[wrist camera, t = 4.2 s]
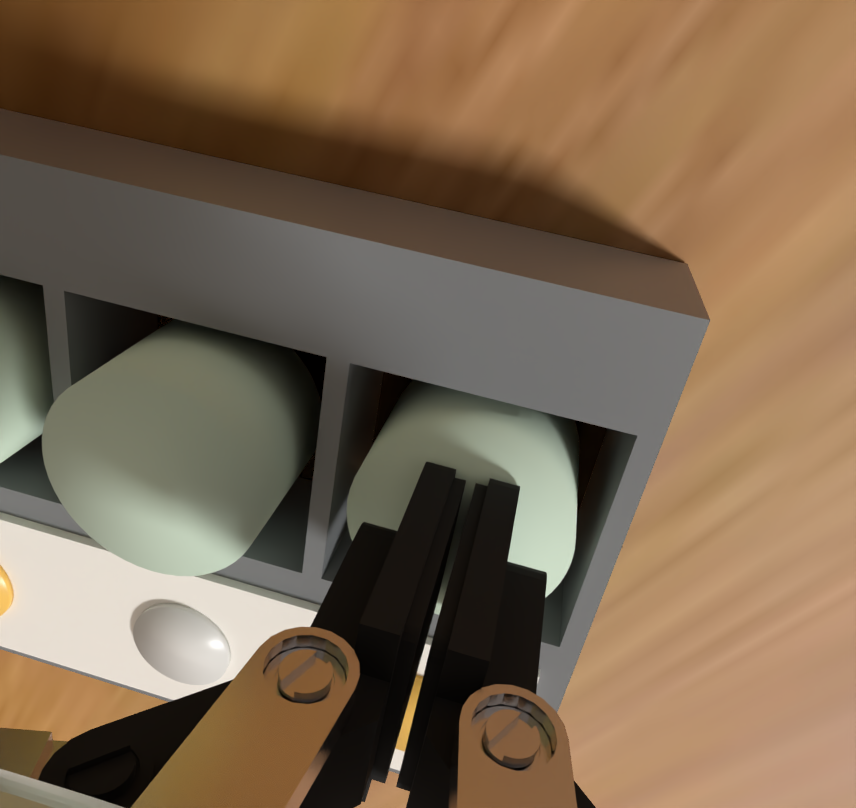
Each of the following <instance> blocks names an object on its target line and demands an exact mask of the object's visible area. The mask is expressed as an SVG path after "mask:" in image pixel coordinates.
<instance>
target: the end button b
mask: <svg viewBox="0 0 856 808" xmlns="http://www.w3.org/2000/svg"><path fill="white" fill-rule="evenodd" d="M579 453H580V444H579V435H578V430H577V426H576V423H575V420H573V419H569V418H565V417H561V416H557V415H553V414H549V413H545V412H541V411H537V410H534V409H530V408H526V407H522V406H518V405H514V404H510V403H506V402H502V401H498V400H494V399H490V398H486V397H482V396H478V395H474V394H470V393H466V392H462V391H458V390H454V389H451V388H447V387H443V386H439V385H435V384H431V383H427V382H423V381H419V380H415V379H414V380H413V381H412V382H411V383H410V384H409V385H408V386H407V387H406V389H405V390H404V391H403V392H402V394H401V396H400V397H399V399H398V400H397V402H396V404H395V406H394V408H393V409H392V411H391V413H390V415H389V417H388V418H387V420H386V422H385V424H384V426H383V427H382V429H381V431H380V433H379V435H378V436H377V438H376V440H375V442H374V444H373V445H372V447H371V449H370V451H369V453H368V454H367V456H366V458H365V460H364V461H363V463H362V465H361V467H360V469H359V470H358V472H357V474H356V476H355V478H354V480H353V483H352V485H351V488H350V491H349V495H348V500H347V524H348V528H349V533H350V537H351V539H352V541H353V539H354V537H355V535H356V533H357V531H358V529H359V527H360V526H361V524H362V523H363V522H367V523H370V524H374V525H378V526H381V527H385V528H389V529H392V530H396V531H398V528H399V526H400V523H401V521H402V518H403V516H404V514H405V511H406V509H407V506H408V504H409V501H410V499H411V497H412V494H413V492H414V489H415V487H416V484H417V482H418V480H419V477H420V475H421V472H422V470H423V467H424V465H425V463H426V462H431V463H435V464H438V465H442V466H446V467H450V468H454V469H456V474H455V478H459V479H463V480H466V484H465V488H464V492H463V496H462V501H461V505H460V509H459V513H458V517H457V521H456V525H455V530H454V534H453V538H452V542H451V546H450V550H449V555H448V559H447V563H446V567H445V571H444V575H443V579H442V584H441V588H440V592H439V596H438V600H437V604H436V608H435V611H434V613H435V614H438V615H439V614H440V611H441V607H442V603H443V600H444V596H445V592H446V589H447V585H448V582H449V578H450V574H451V571H452V567H453V564H454V560H455V556H456V553H457V549H458V546H459V542H460V538H461V535H462V531H463V527H464V524H465V520H466V517H467V513H468V509H469V506H470V502H471V499H472V495H473V491H474V488H475V484H476V483H478V484H481V485H485V486H488V484H489V480H490V478H491V479H495V480H499V481H503V482H506V483H510V484H514V485H518V486H520V492H519V498H518V503H517V509H516V515H515V521H514V526H513V532H512V538H511V544H510V550H509V555H508V562H511V563H515V564H519V565H522V566H526V567H529V568H533V569H537V570H540V571H544V572H546V573H547V584H546V595H545V598H546V597H547V596H548V595H549V594H550V593H552V592H553V590H554V589H555V588H556V587H557V586H558V585H559V584H560V582H561V581H562V579H563V578H564V576H565V575H566V573H567V571H568V569H569V567H570V564H571V562H572V559H573V555H574V551H575V541H576V523H577V500H578V476H579Z"/></svg>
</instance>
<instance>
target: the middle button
mask: <svg viewBox="0 0 856 808" xmlns="http://www.w3.org/2000/svg"><path fill="white" fill-rule="evenodd" d="M320 412H321V401H320V397H319V393H318V390H317V388H316V385H315V382H314V380H313V378H312V376H311V374H310V372H309V370H308V369H307V367H306V366H305V364H304V363H303V361H302V360H301V358H300V357H299V356H298V355H297V354H296V353H295V351H294V350H293V349H292V348H288V347H284V346H281V345H277V344H273V343H269V342H265V341H261V340H257V339H253V338H249V337H245V336H241V335H237V334H233V333H229V332H225V331H221V330H217V329H213V328H209V327H205V326H201V325H197V324H194V323H190V322H186V321H182V320H178V319H173V320H172V321H170V322H168V323H167V324H165V325H164V326H162V327H161V328H159V329H158V330H156V331H155V332H153V333H152V334H150V335H148V336H147V337H145V338H144V339H142V340H141V341H139V342H138V343H136V344H135V345H133V346H132V347H130V348H129V349H127V350H126V351H124V352H122V353H121V354H119V355H118V356H116V357H115V358H113V359H112V360H110V361H109V362H107V363H106V364H104V365H103V366H101V367H100V368H98V369H97V370H95V371H93V372H92V373H90V374H89V375H87V376H86V377H84V378H83V379H81V380H80V381H78V382H77V383H75V384H74V385H72V386H71V387H69V388H67V389H66V390H65V391H64V392H63V393H62V394H61V395H60V396H59V397H58V398H57V399H56V401H55V402H54V403H53V405H52V406H51V408H50V410H49V412H48V414H47V416H46V420H45V423H44V427H43V434H42V453H43V459H44V465H45V468H46V471H47V475H48V478H49V480H50V482H51V485H52V487H53V489H54V491H55V493H56V495H57V497H58V498H59V500H60V502H61V503H62V505H63V506H64V508H65V509H66V510H67V512H68V513H69V515H70V516H71V517H72V518H73V519H74V521H75V522H76V523H77V524H78V525H79V526H80V527H81V528H82V529H83V530H84V531H85V532H86V533H87V534H88V535H89V536H90V537H91V538H93V539H94V540H95V541H96V542H97V543H99V544H100V545H101V546H103V547H104V548H106V549H107V550H108V551H110V552H111V553H113V554H115V555H116V556H118V557H120V558H122V559H123V560H125V561H127V562H130V563H132V564H134V565H136V566H138V567H141V568H144V569H147V570H150V571H153V572H158V573H162V574H167V575H174V576H198V575H205V574H209V573H213V572H216V571H219V570H221V569H224V568H226V567H228V566H229V565H231V564H233V563H234V562H236V561H237V560H238V559H239V558H240V557H241V556H242V555H244V553H245V552H246V551H247V550H248V548H249V547H250V546H251V544H252V543H253V541H254V540H255V539H256V537H257V536H258V534H259V533H260V531H261V530H262V528H263V527H264V525H265V524H266V523H267V521H268V520H269V518H270V517H271V515H272V514H273V512H274V511H275V510H276V508H277V507H278V505H279V504H280V502H281V501H282V499H283V498H284V496H285V495H286V494H287V492H288V491H289V489H290V488H291V486H292V485H293V483H294V482H295V480H296V479H297V478H298V476H299V475H300V473H301V472H302V470H303V469H304V467H305V466H306V464H307V463H308V462H309V460H310V459H311V457H312V455H313V454H314V452H315V450H316V447H317V438H318V430H319V421H320Z"/></svg>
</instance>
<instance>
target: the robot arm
mask: <svg viewBox="0 0 856 808" xmlns="http://www.w3.org/2000/svg"><path fill="white" fill-rule="evenodd" d="M455 474H456V469H454V468H450V467H446V466H442V465H438V464H435V463H431V462H426V463H425V465H424V467H423V470H422V472H421V475H420V477H419V480H418V482H417V484H416V487H415V489H414V492H413V494H412V497H411V499H410V501H409V504H408V506H407V509H406V511H405V514H404V516H403V518H402V521H401V523H400V526H399V528H398V531H396V530H392V529H389V528H385V527H381V526H378V525H374V524H370V523H367V522H363V523H362V524H361V526H360V527H359V529H358V531H357V533H356V535H355V537H354V539H353V541H352V543H351V545H350V547H349V549H348V551H347V553H346V556H345V558H344V560H343V562H342V564H341V566H340V568H339V570H338V572H337V574H336V576H335V578H334V580H333V582H332V584H331V586H330V588H329V590H328V592H327V594H326V596H325V598H324V600H323V602H322V604H321V606H320V608H319V610H318V612H317V614H316V616H315V618H314V620H313V622H312V624H311V626H310V627H296V628H291V629H286V630H283V631H281V632H279V633H277V634H275V635H273V636H271V637H270V638H269V639H267V640H266V641H265V642H264V643H263V644H262V645H261V646H260V647H259V648H258V649H257V651H256V652H255V653H254V654H253V656H252V657H251V658H250V659H249V660H248V662H247V663H246V664H245V665H244V667H243V668H242V669H241V670H240V672H239V673H238V674H237V675H236V677H235V678H234V679H233V680H230V681H227V682H224V683H222V684H219V685H216V686H213V687H210V688H207V689H205V690H202V691H199V692H196V693H193V694H190V695H188V696H185V697H182V698H179V699H176V700H173V701H171V702H168V703H165V704H162V705H159V706H156V707H154V708H151V709H148V710H145V711H142V712H139V713H137V714H134V715H131V716H128V717H125V718H122V719H120V720H117V721H114V722H111V723H108V724H105V725H103V726H100V727H97V728H94V729H91V730H89V731H87V732H85V733H83V734H81V735H79V736H77V737H75V738H73V739H71V740H70V741H68V742H66V741H54V740H53V739H52V732H46V731H34V730H21V729H9V728H0V808H354V807H356V806H358V805H360V804H361V801H363V802H365V800H366V797H367V793H368V790H369V787H370V783H371V780H372V779H373V780H376V781H379V782H382V783H385V782H386V778H387V775H388V772H389V768H390V765H391V761H392V758H393V754H394V751H395V747H396V744H397V740H398V737H399V733H400V730H401V726H402V723H403V719H404V716H405V712H406V709H407V705H408V702H409V699H410V695H411V692H412V688H413V685H414V681H415V678H416V674H417V671H418V667H419V664H420V660H421V657H422V653H423V650H424V646H425V643H426V639H427V636H428V632H429V629H430V625H431V622H432V618H433V615H434V611H435V608H436V604H437V600H438V596H439V592H440V588H441V584H442V579H443V575H444V571H445V567H446V563H447V559H448V555H449V550H450V546H451V542H452V538H453V534H454V530H455V525H456V521H457V517H458V513H459V509H460V505H461V501H462V496H463V492H464V488H465V484H466V480H463V479H459V478H455ZM519 492H520V486H518V485H514V484H510V483H506V482H503V481H499V480H495V479H491V478H490V480H489V484H488V486H485V485H481V484H478V483H476V484H475V488H474V491H473V495H472V499H471V502H470V506H469V509H468V513H467V517H466V520H465V524H464V527H463V531H462V535H461V538H460V542H459V546H458V549H457V553H456V556H455V560H454V564H453V567H452V571H451V574H450V578H449V582H448V585H447V589H446V592H445V596H444V600H443V603H442V607H441V611H440V614H439V618H438V621H437V625H436V629H435V632H434V636H433V640H432V644H431V647H430V651H429V655H428V659H427V663H426V667H425V671H424V676H423V680H422V684H421V688H420V692H419V696H418V700H417V704H416V708H415V712H414V716H413V720H412V724H411V729H410V733H409V737H408V741H407V745H406V749H405V753H404V757H403V761H402V765H401V769H400V773H399V778H398V782H397V786H396V787H398V788H401V789H404V790H408V791H410V794H409V798H408V802H407V806H406V808H595V806H594V805H593V804H592V802H591V801H590V800H589V799H588V797H587V796H586V795H585V794H584V792H583V791H582V790H581V789H580V787H579V786H578V785H577V784H576V782H575V781H574V778H573V771H572V763H571V755H570V747H569V739H568V736H567V733H566V729H565V726H564V723H563V722H562V720H561V719H560V717H559V716H558V714H557V712H556V711H555V710H554V709H553V708H552V707H551V706H550V705H549V704H548V703H547V702H546V701H545V700H544V699H543V698H541V697H539V696H538V695H536V691H537V681H538V670H539V659H540V648H541V638H542V627H543V616H544V605H545V595H546V584H547V573H546V572H544V571H540V570H537V569H533V568H529V567H526V566H522V565H519V564H515V563H511V562H508V555H509V550H510V544H511V538H512V532H513V526H514V521H515V515H516V509H517V503H518V498H519Z"/></svg>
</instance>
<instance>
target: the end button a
mask: <svg viewBox="0 0 856 808" xmlns="http://www.w3.org/2000/svg"><path fill="white" fill-rule="evenodd" d="M53 403H54V399H53V388H52V378H51V367H50V356H49V345H48V335H47V324H46V313H45V303H44V292H43V285H39V284H35V283H31V282H27V281H24V280H20V279H16V278H12V277H8V276H4V275H0V463H2V462H3V461H4V460H6V459H7V458H9V457H10V456H11V455H13V454H14V453H16V452H17V451H19V450H20V449H21V448H23V447H24V446H26V445H27V444H28V443H30V442H31V441H33V440H34V439H36V438H37V437H38V436H40V435H41V434H43V427H44V423H45V420H46V416H47V414H48V412H49V410H50V408H51V406H52V405H53Z"/></svg>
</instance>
